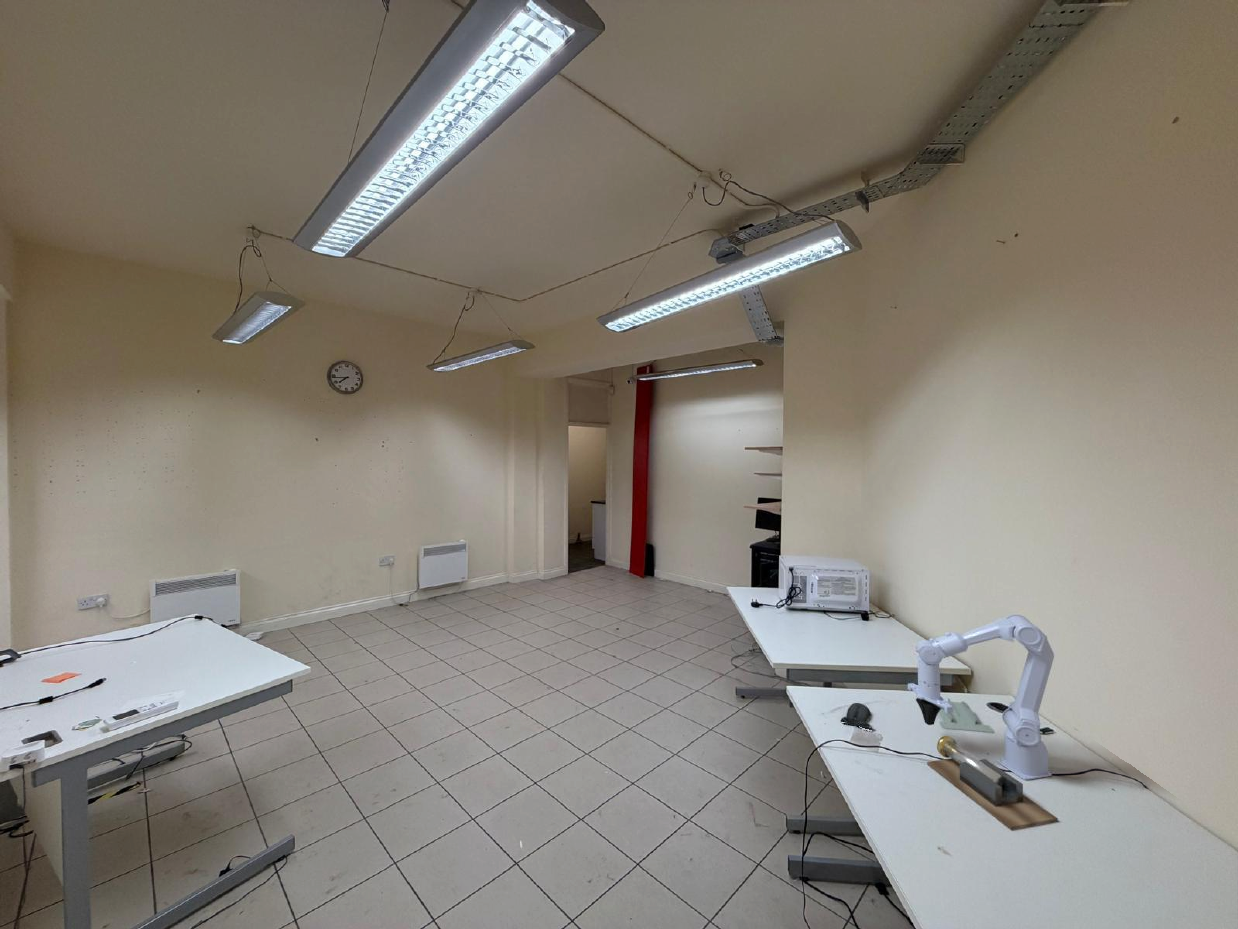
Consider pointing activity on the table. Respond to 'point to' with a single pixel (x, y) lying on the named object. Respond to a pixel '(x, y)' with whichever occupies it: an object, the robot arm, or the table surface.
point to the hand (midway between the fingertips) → (929, 723)
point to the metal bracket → (962, 719)
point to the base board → (1006, 814)
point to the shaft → (966, 758)
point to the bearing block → (992, 785)
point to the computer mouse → (858, 716)
